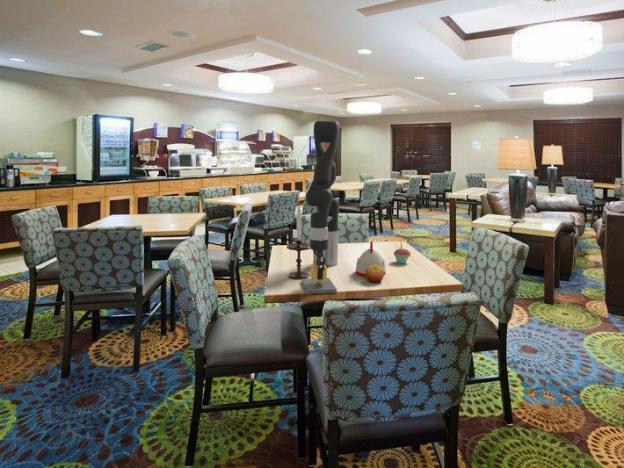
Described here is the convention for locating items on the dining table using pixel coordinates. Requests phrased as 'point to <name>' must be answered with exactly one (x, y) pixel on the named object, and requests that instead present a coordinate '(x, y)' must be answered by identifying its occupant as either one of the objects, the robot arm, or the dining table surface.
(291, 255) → the dining table surface
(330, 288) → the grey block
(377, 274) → the fruit
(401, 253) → the cupcake
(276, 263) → the dining table surface
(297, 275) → the candlestick
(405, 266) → the dining table surface
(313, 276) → the peach colored cube
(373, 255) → the kitchen timer
